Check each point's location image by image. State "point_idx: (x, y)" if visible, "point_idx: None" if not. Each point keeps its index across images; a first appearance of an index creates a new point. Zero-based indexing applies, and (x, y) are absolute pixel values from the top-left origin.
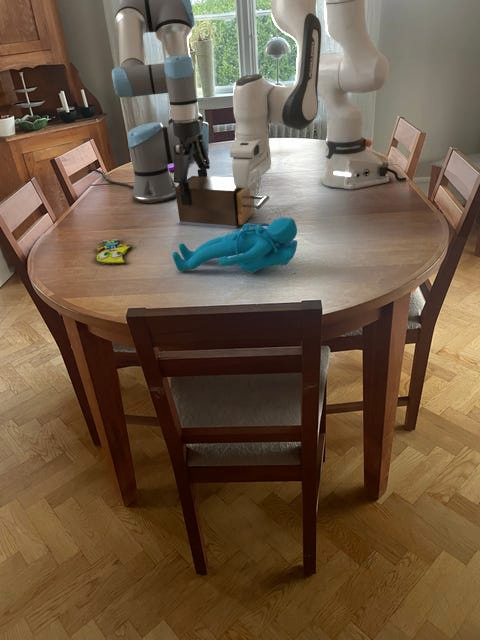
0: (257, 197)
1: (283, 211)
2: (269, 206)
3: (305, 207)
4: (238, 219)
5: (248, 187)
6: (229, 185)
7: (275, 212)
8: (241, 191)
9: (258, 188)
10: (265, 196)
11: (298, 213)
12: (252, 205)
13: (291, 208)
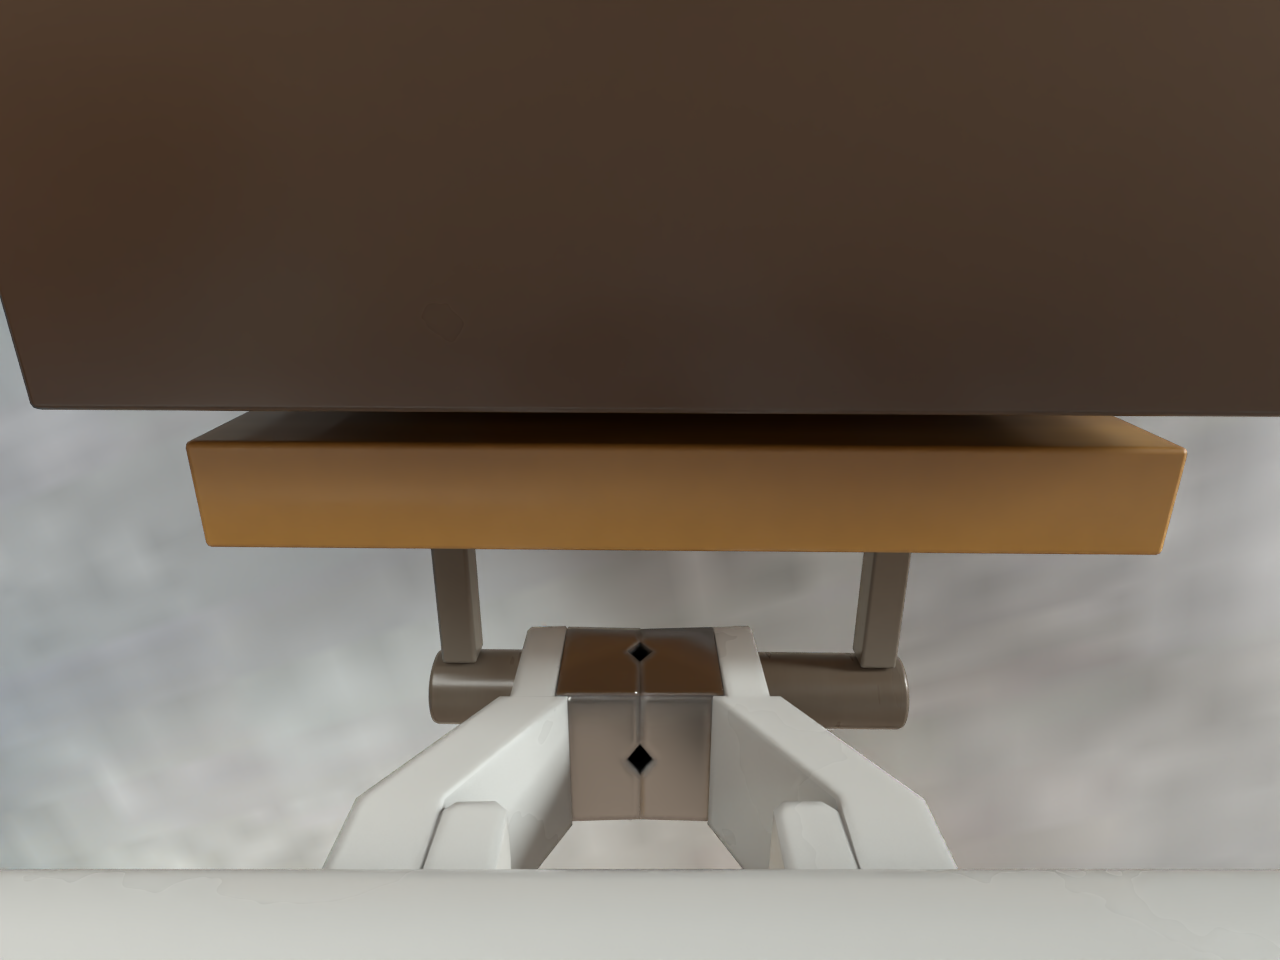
0: (870, 556)
1: (1025, 651)
2: (1212, 449)
3: (1143, 822)
4: None
5: (801, 542)
6: (486, 40)
7: (991, 578)
8: (394, 511)
9: (697, 803)
10: (861, 702)
11: (965, 800)
12: (452, 609)
13: (1120, 706)
